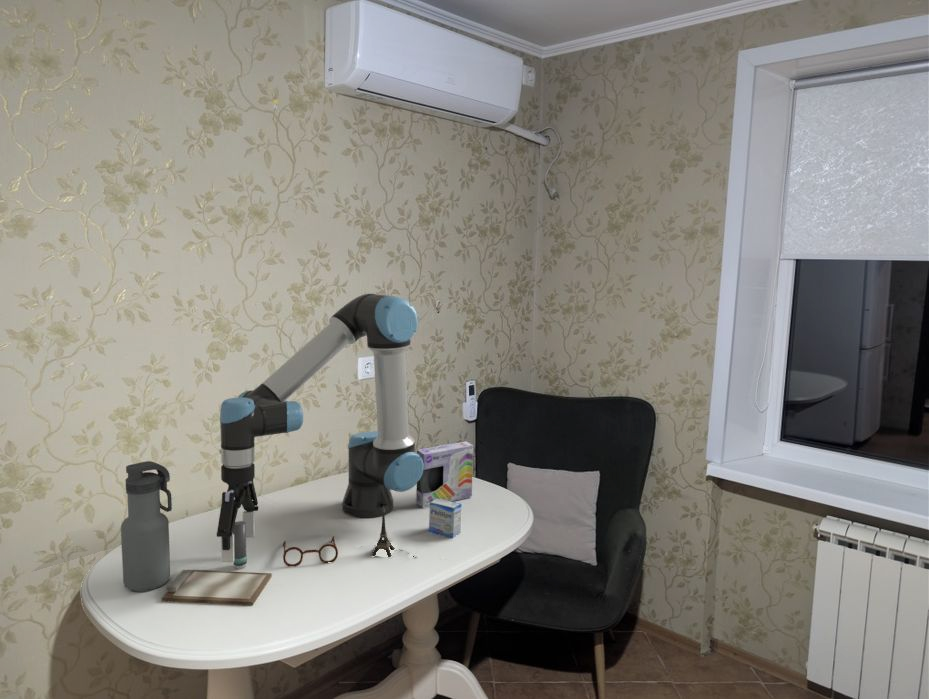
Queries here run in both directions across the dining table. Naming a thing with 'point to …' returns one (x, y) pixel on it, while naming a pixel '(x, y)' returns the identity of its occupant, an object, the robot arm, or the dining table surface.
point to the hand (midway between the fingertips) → (238, 548)
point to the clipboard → (216, 587)
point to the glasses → (310, 552)
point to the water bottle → (146, 528)
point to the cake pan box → (445, 473)
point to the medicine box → (445, 518)
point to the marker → (240, 545)
